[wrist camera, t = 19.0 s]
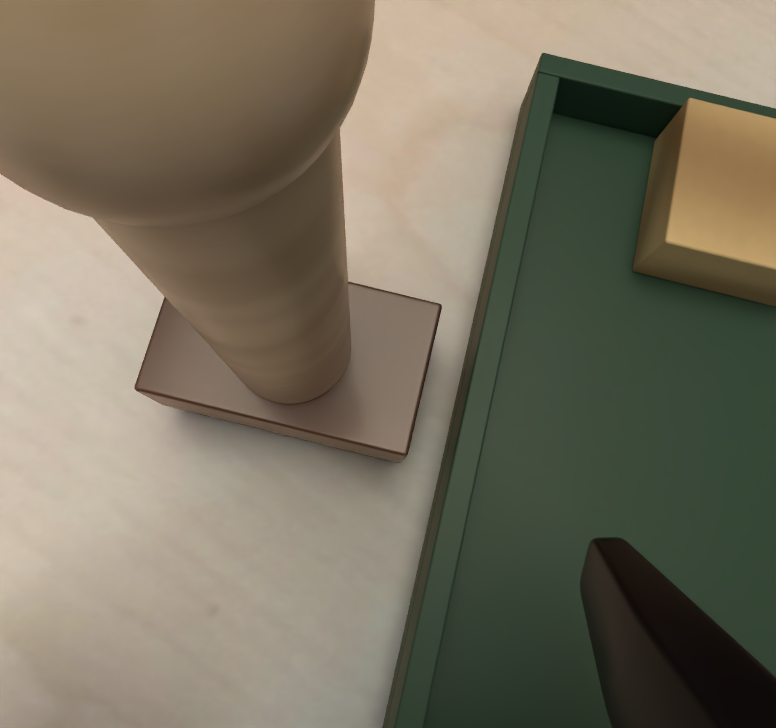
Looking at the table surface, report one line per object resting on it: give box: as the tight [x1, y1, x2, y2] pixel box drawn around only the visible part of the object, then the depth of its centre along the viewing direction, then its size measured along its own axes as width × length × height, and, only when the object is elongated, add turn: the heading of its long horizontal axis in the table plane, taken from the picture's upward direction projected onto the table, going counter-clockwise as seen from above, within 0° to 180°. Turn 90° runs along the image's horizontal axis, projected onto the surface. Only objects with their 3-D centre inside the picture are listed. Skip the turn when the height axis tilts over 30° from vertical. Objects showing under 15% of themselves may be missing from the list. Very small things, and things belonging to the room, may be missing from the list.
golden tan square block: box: [633, 98, 776, 307], centre depth 17 cm, size 4×4×2 cm
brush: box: [0, 0, 442, 463], centre depth 10 cm, size 4×6×15 cm, turn 76°
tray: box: [383, 53, 776, 728], centre depth 16 cm, size 18×12×2 cm, turn 166°
